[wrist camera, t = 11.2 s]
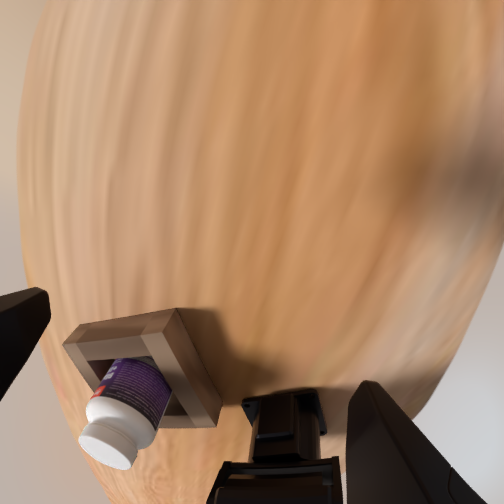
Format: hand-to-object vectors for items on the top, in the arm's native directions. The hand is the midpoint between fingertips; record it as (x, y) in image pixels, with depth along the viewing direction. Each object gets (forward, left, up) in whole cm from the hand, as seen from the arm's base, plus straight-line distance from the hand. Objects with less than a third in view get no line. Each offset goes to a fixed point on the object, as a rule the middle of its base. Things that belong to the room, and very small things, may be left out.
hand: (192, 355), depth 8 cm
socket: (-10, +12, -12) cm, 20 cm away
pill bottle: (-10, +12, -13) cm, 20 cm away
